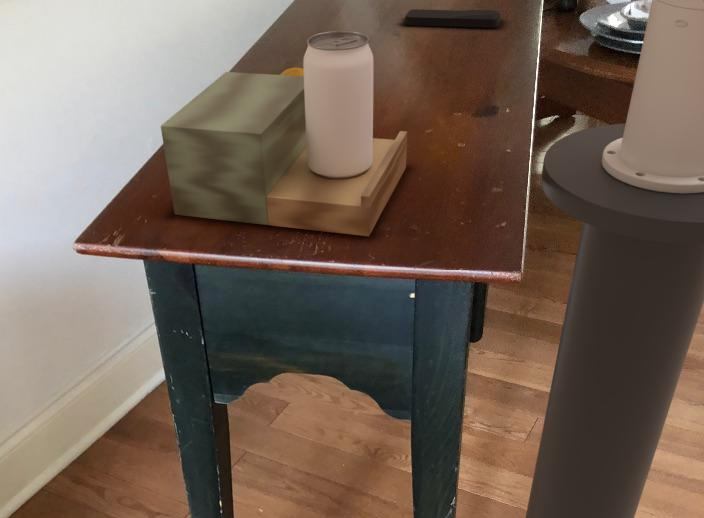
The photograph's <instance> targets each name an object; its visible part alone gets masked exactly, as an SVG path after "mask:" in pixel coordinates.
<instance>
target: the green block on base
mask: <svg viewBox="0 0 704 518" xmlns="http://www.w3.org/2000/svg"><path fill="white" fill-rule="evenodd" d="M160 131H161V138H162V144H163V150H164V156H165V163H166V168H167V174H168V181H169V182H168V183H169V187H170V194H171V200H172V206H173V212H174V215H175V216H184V217H190V218H199V219H210V220H219V221H226V222H227V221H228V222H237V223H245V224H254V225H262V226H272V227H278V228H279V227H280V228H290V229H298V230H307V231H316V232H325V233H333V234H342V235H351V236H352V235H353V236H360V237H370V235H371V234H372V232H373V229H374V228H375V226H376V224H377V222H378V220H379V219H380V216H381V215H382V213H383V211H384V209H385V207H386V205H387V204H388V202H389V200H390V198H391V196H392V195H393V192H394V191H395V189H396V187H397V185H398V184H399V181H400V180H401V178H402V176H403V174H404V172H405V170H406V168H407V152H408V151H407V149H408V131H406V130H405V131H404V130H399V132H398V133H397V135H396V137H395V138H394V139H388V138H378V137H377V138H376V137H373V152H372V165H371V166H370V167H369V169H368V170H367V171H366V172H365V173H363V174H361V175H359V176H356V177H352V178H345V179H331V178H325V177H322V176H319V175H316V174H315V173H313V172H312V170H311V169H310V168H309V167H308V161H307V142H306V120H305V96H304V76H289V75H281V74H270V73H269V74H268V73H255V72H254V73H252V72H235V71H225V72H224V73H222V75H221V76H218V78H217V79H215V80H214V81H213V82H212V83H210V85H208V86H207V87H206V88H205V89H203V90H202V91H201V92H200V93H198V95H196V96H195V97H193V98H192V99H191V100H190V101H188V102H187V103H186V104H185V105H184V106H183V107H181V108H180V109H179V110H178V111H176V113H174V114H173V115H172V116H170V118H168V119H167V120H166V121H165V122H163V123H162V124H161V125H160Z"/></svg>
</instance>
